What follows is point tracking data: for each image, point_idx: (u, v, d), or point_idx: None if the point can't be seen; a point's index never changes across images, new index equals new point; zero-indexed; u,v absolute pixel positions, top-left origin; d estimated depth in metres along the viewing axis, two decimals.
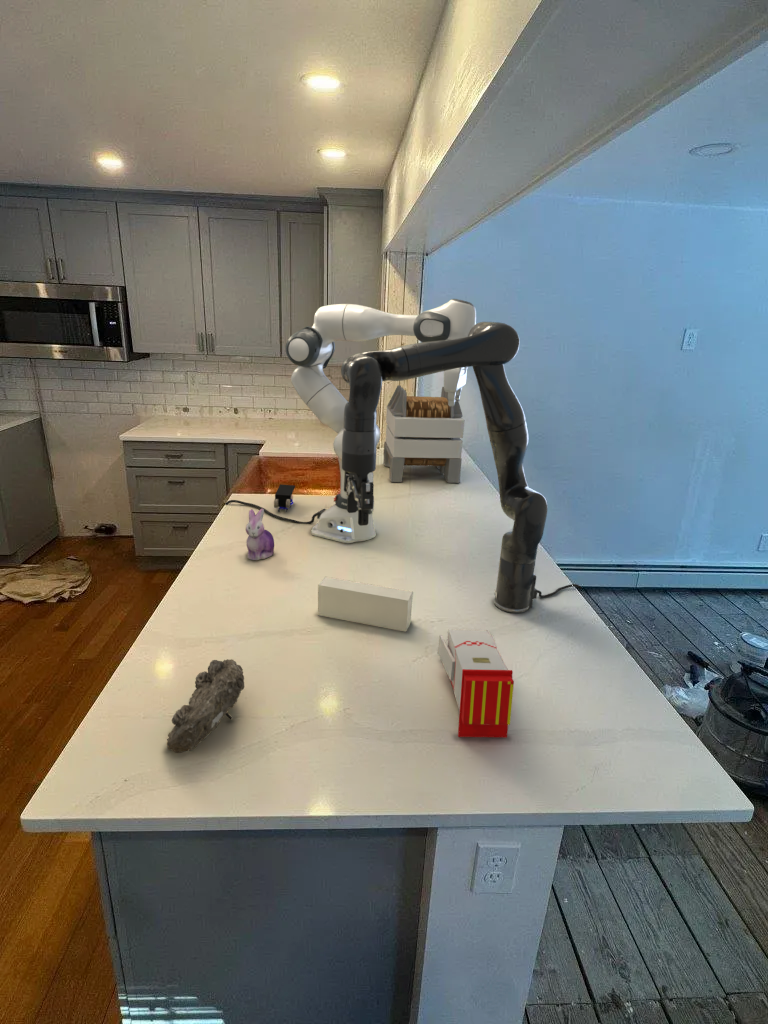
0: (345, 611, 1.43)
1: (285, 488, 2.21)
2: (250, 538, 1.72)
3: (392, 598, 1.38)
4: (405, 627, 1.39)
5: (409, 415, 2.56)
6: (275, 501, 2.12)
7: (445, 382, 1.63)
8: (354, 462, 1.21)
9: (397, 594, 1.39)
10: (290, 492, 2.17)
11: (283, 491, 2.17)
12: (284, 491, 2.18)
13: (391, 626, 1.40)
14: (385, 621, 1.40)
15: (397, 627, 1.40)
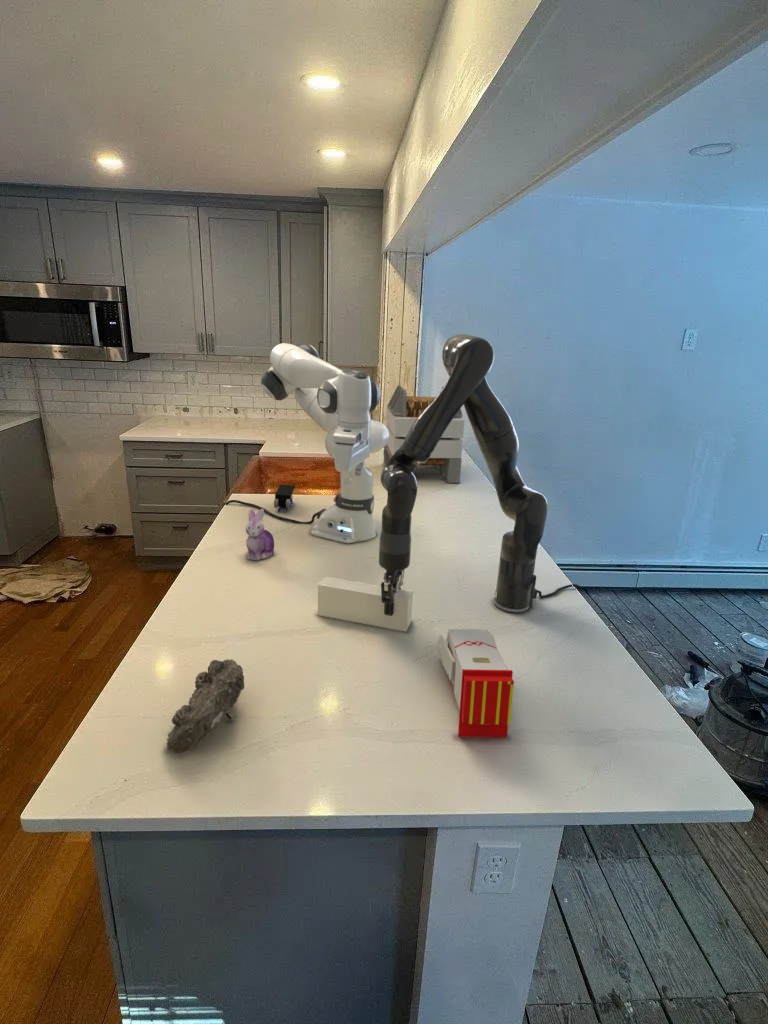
0: (345, 611, 1.43)
1: (285, 488, 2.21)
2: (250, 538, 1.72)
3: None
4: (405, 627, 1.39)
5: (409, 415, 2.56)
6: (275, 501, 2.12)
7: (336, 462, 1.48)
8: (383, 558, 1.34)
9: (397, 594, 1.39)
10: (290, 492, 2.17)
11: (283, 491, 2.17)
12: (284, 491, 2.18)
13: (391, 626, 1.40)
14: (385, 621, 1.40)
15: (397, 627, 1.40)
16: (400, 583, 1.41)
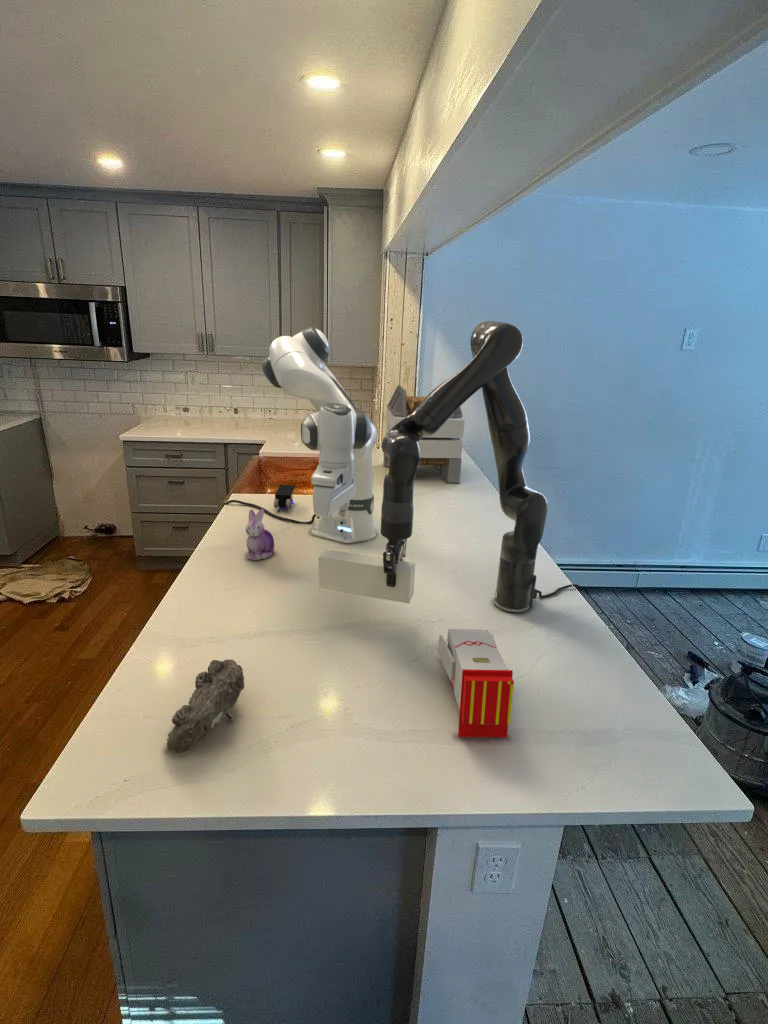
0: (346, 584, 1.40)
1: (285, 488, 2.21)
2: (250, 538, 1.72)
3: None
4: (408, 599, 1.37)
5: None
6: (275, 501, 2.12)
7: (314, 506, 1.35)
8: (384, 527, 1.31)
9: (399, 565, 1.37)
10: (290, 492, 2.17)
11: (283, 491, 2.17)
12: (284, 491, 2.18)
13: (394, 598, 1.38)
14: (387, 593, 1.38)
15: (400, 599, 1.37)
16: (402, 554, 1.38)
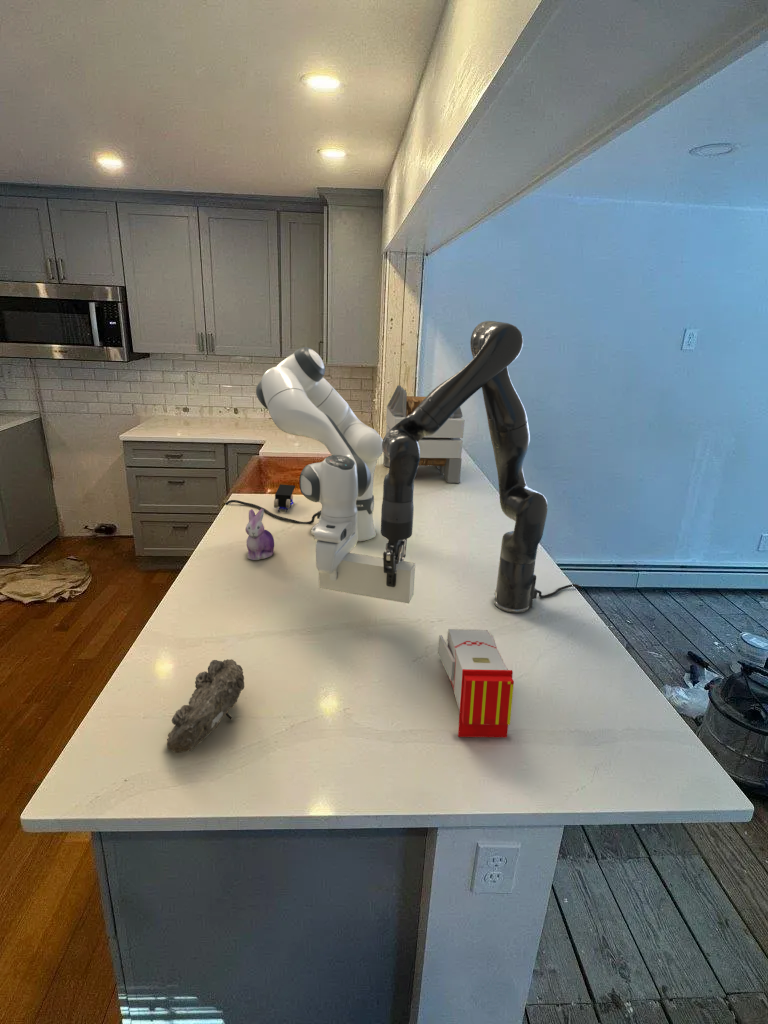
0: (346, 584, 1.40)
1: (285, 488, 2.21)
2: (250, 538, 1.72)
3: None
4: (408, 599, 1.37)
5: None
6: (275, 501, 2.12)
7: (317, 562, 1.31)
8: (384, 527, 1.31)
9: (399, 565, 1.37)
10: (290, 492, 2.17)
11: (283, 491, 2.17)
12: (284, 491, 2.18)
13: (394, 598, 1.38)
14: (387, 593, 1.38)
15: (400, 599, 1.37)
16: (402, 554, 1.38)
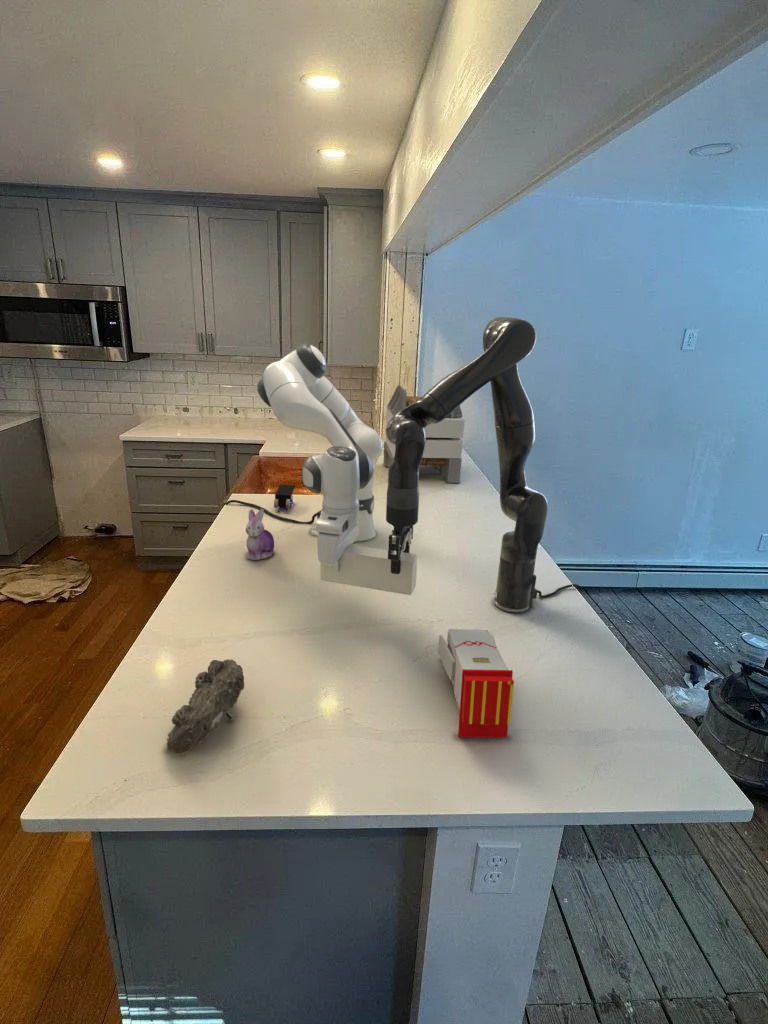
0: (348, 576, 1.39)
1: (285, 488, 2.21)
2: (250, 538, 1.72)
3: None
4: (410, 590, 1.36)
5: None
6: (275, 501, 2.12)
7: (319, 554, 1.31)
8: (390, 514, 1.30)
9: None
10: (290, 492, 2.17)
11: (283, 491, 2.17)
12: (284, 491, 2.18)
13: (396, 590, 1.37)
14: (390, 585, 1.37)
15: (402, 591, 1.37)
16: (409, 539, 1.37)
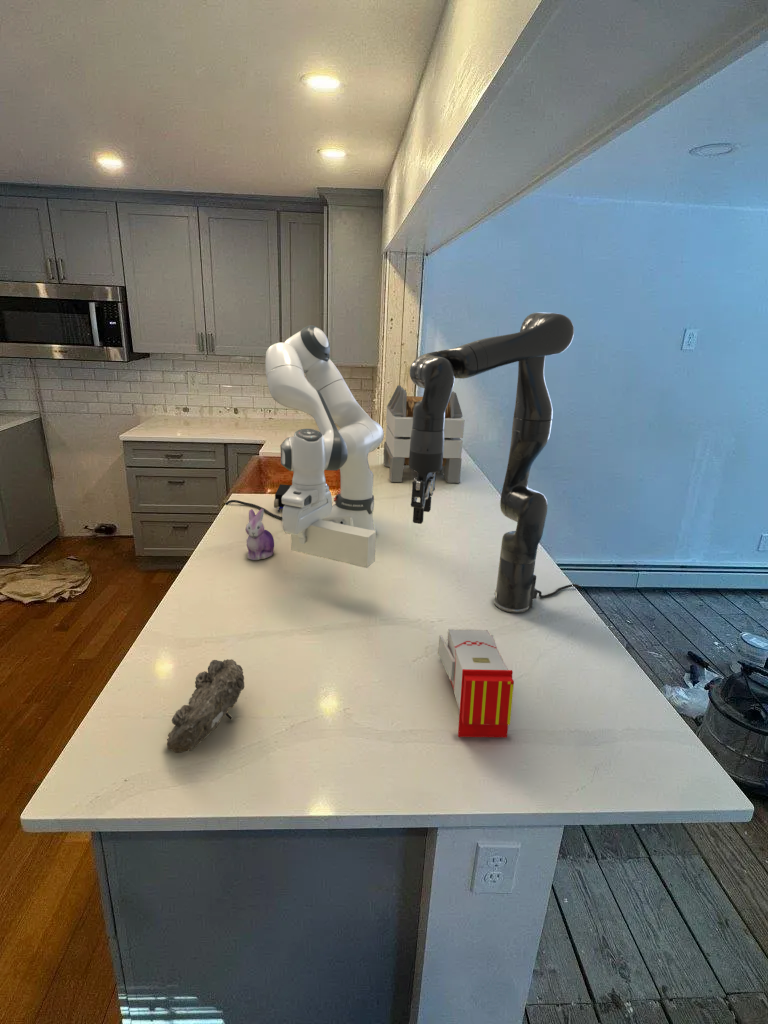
0: (314, 547, 1.53)
1: (285, 488, 2.21)
2: (250, 538, 1.72)
3: (354, 535, 1.47)
4: (366, 563, 1.48)
5: (409, 415, 2.56)
6: (275, 501, 2.12)
7: (283, 524, 1.45)
8: (414, 459, 1.24)
9: (360, 532, 1.48)
10: None
11: (283, 491, 2.17)
12: (284, 491, 2.18)
13: (354, 562, 1.49)
14: (349, 557, 1.49)
15: (359, 564, 1.49)
16: (432, 489, 1.31)
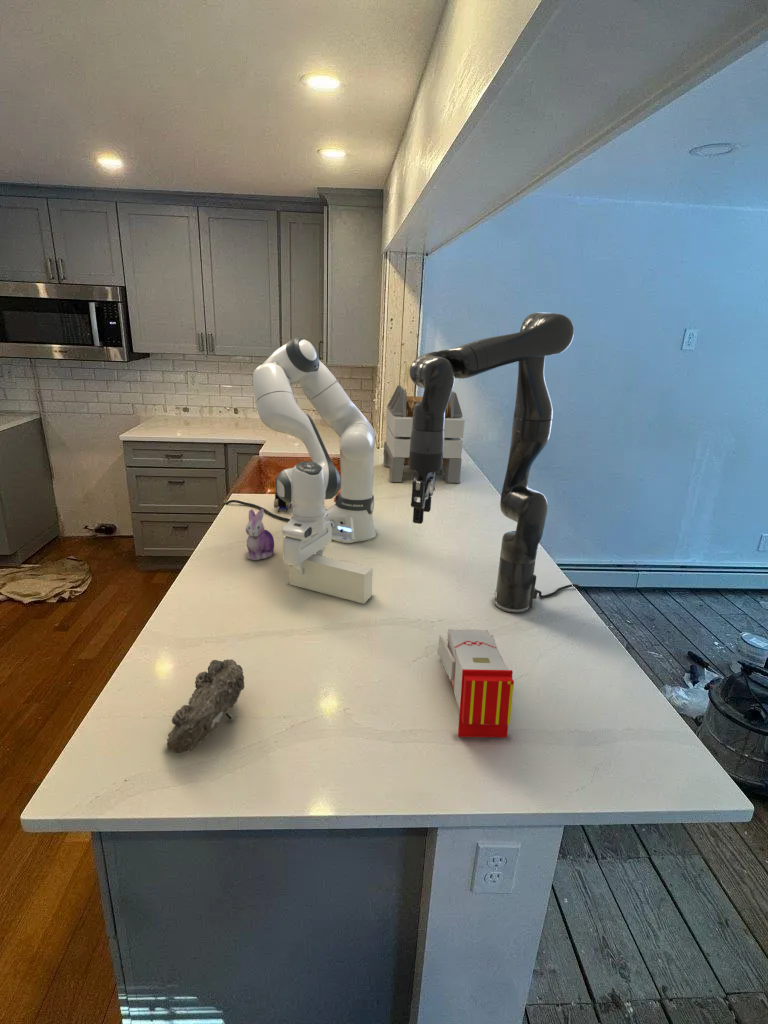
0: (312, 582, 1.57)
1: None
2: (250, 538, 1.72)
3: (351, 572, 1.50)
4: (363, 599, 1.51)
5: (409, 415, 2.56)
6: (275, 501, 2.12)
7: (284, 555, 1.48)
8: (414, 459, 1.24)
9: (357, 569, 1.52)
10: None
11: None
12: None
13: (351, 598, 1.53)
14: (346, 593, 1.53)
15: (356, 599, 1.52)
16: (432, 489, 1.31)
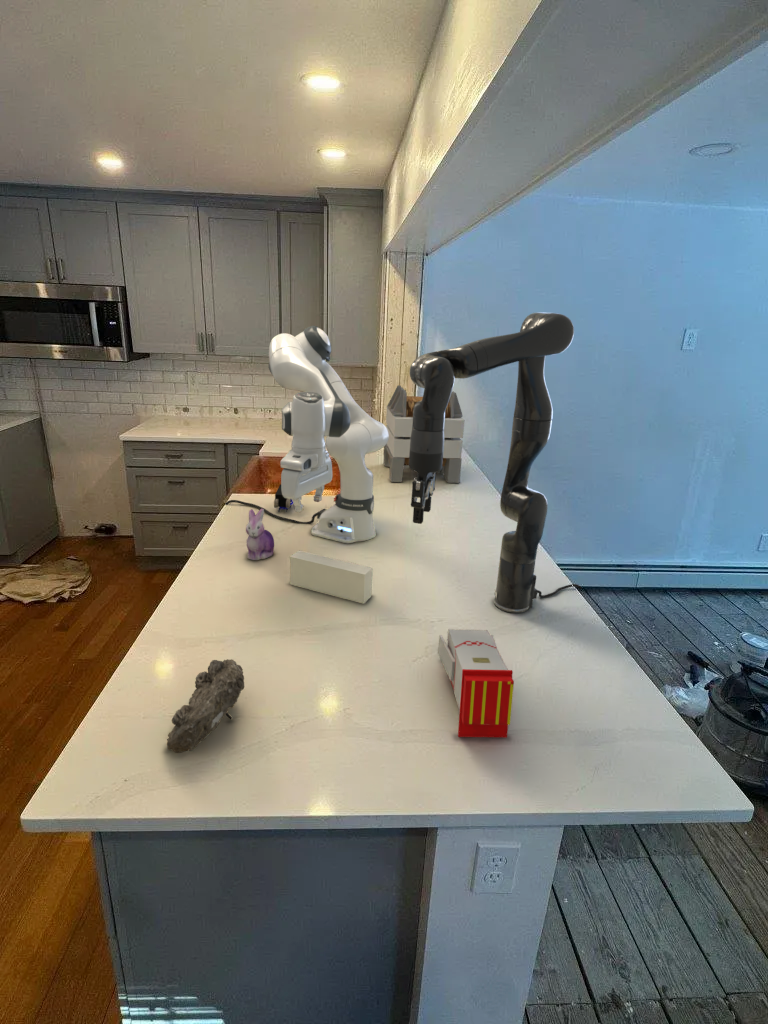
0: (312, 582, 1.57)
1: None
2: (250, 538, 1.72)
3: (351, 572, 1.50)
4: (363, 599, 1.51)
5: (409, 415, 2.56)
6: (275, 501, 2.12)
7: (282, 488, 1.42)
8: (414, 459, 1.24)
9: (357, 569, 1.52)
10: None
11: None
12: None
13: (351, 598, 1.53)
14: (346, 593, 1.53)
15: (356, 599, 1.52)
16: (432, 489, 1.31)
